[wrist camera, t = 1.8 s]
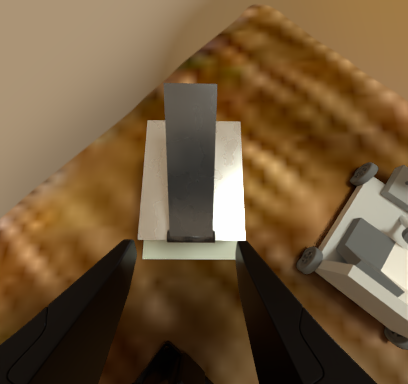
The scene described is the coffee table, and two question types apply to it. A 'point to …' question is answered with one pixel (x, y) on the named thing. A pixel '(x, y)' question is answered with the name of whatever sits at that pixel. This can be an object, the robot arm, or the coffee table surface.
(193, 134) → the strap
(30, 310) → the coffee table surface
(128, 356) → the coffee table surface
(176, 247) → the board
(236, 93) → the coffee table surface
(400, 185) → the toy car
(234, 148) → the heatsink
